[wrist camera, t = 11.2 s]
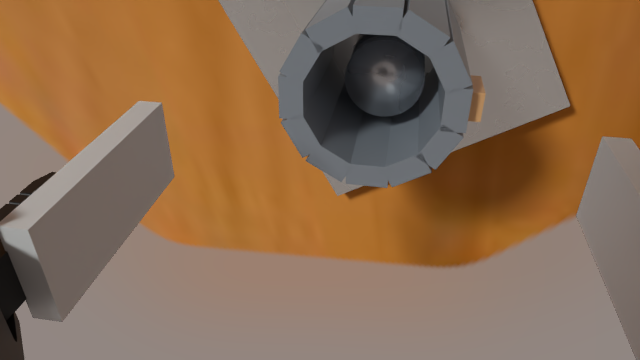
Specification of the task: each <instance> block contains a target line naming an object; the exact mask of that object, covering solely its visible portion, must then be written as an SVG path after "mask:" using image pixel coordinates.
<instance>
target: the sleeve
mask: <svg viewBox="0 0 640 360" xmlns="http://www.w3.org/2000/svg"><path fill="white" fill-rule="evenodd" d="M354 34H373V35H390V36H398V37H399V38H401V39H402V40H404V41H405V42H407V43H408V44H410V45H411V46H413V47H414V48H416V49H417V50H419V51H420V52H422V53H423V54H425V55H426V56H428V57H429V58H430V60H431V62H432V64H433V66H434V67H433V68H432V69H431V71H430V72H429V73H428V75H427V76H426V77H425V83H424V88H423V91H422V93H421V95H420V97H419V99H418V100H417V102H416V103H415V104H414V105H413V106H412V107H411V108H409V109H408V110H406V111H405V112H403V113H400V114H398V115H394V116H387V117H385V116H376V115H372V114H369V113H367V112H365V111H363V110H362V109H360V108H359V107H358V106H357V105H356V104H355V103H354V102H353V101H352V99H351V98H350V96H349V94H348V92H347V89H346V84H345V79H344V77H343V75H342V73H341V71H340V69H339V67H338V66H337V64H336V62H335V60H334V58H333V45H335V44H337V43H339V42H341V41H343V40H345V39H347V38H349V37H350V36H352V35H354ZM279 72H281V73H280V74H279V76H278V90H279V118H283V120H282V121H281V124H282V125H283V127H284V129H285V130H286V132H287V133H288V135H289V137H290V138H291V140H292V142H293V143H294V145H295V146H296V148H297V150H298V151H299V153H300V154H301V156H302V158H303V157H305V156H307V155H308V157H307V159H306V161H307V162H308V163H310V164H312V165H313V166H315V167H317V168H318V169H320V170H322V171H323V172H325V173H327V174H328V175H330V176H332V177H333V178H335V179H337V180H338V181H340V182H342V181H343V179H344V178H345V177H346V184H353V185H363V186H374V187H384V188H387V186H388V181H389V183H390V184H391V186H392V187H394V186H397V185H399V184H402V183H405V182H407V181H410V180H413V179H415V178H418V177H421V176H424V175H426V174H429V173H432V168H434V169H435V170H436V169H437V168H438V166H439V165H440V164H441V163H442V162H443V161H444V160H445V158H446V157H447V156H448V155H449V154H450V153H451V152H452V150H453V149H454V148H455V147H456V146H457V145H458V144H459V142H460V141H461V140H462V139H463V138H464V136H463V133H466V130H467V124H468V121H472V122H481V116H482V111H483V106H484V100H485V95H486V93H485V89H484V85H483V82H482V78H481V76H474V75H470V70H469V66H468V61H467V57H466V52H465V48H464V44H463V39H462V35H461V30H460V27H459V25H458V22H457V20H456V18H455V15H454V13H453V11H452V8H451V6H450V4H449V1H448V0H326V1H325V2H324V3H323V5H322V6H321V7H320V9H319V10H318V11H317V13H316V14H315V15H314V17H313V18H312V19H311V21H310V22H309V23H308V25H307V26H306V27H305V29H304V30H303V31H302V33H301V34H300V36H299V38H298V40H297V41H296V43H295V45H294V47H293V48H292V50H291V52H290V54H289V55H288V57H287V59H286V61H285V62H284V64H283V66H282V68H281V69H280V71H279Z"/></svg>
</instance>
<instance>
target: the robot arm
mask: <svg viewBox="0 0 640 360" xmlns="http://www.w3.org/2000/svg"><path fill="white" fill-rule="evenodd" d="M173 178H174V171H173V166H172V160H171V154H170V148H169V142H168V137H167V131H166V125H165V119H164V113H163V107H162V103H159V102H146V101H138V102H137V103H136V104H135V105H134V106H133V107H131V108H130V109H129V110H128V111H127V112H126V113H125V114H123V115H122V116H121V117H120V118H119V119H118V120H117V121H115V122H114V123H113V124H112V125H111V126H110V127H108V128H107V129H106V130H105V131H104V132H103V133H102V134H100V135H99V136H98V137H97V138H96V139H95V140H94V141H92V142H91V143H90V144H89V145H88V146H87V147H85V148H84V149H83V150H82V151H81V152H80V153H79V154H77V155H76V156H75V157H74V158H73V159H72V160H70V161H69V162H68V163H67V164H66V165H65V166H64V167H63V168H61V169H60V170H59V171H58V172H51V173H49V174H47V175H45V176H43V177H41V178H39V179H37V180H35V181H33V182H32V183H31V184H30V185H28V186H27V187H26V188H25V189H24V190H22V191H21V192H20V195H16V196H15V197H14V198H13V199H12V200H10V201H9V204H6V205H5V206H3V207H2V208H1V209H0V360H24V353H23V346H22V338H21V331H20V324H19V320H18V318H17V316H16V313H15V311H16V310H17V309H18V308H19V307H20V306H21V304H22V303H23V302H24V301H25V300H26V302H27V304H28V307H29V309H30V312H31V314H32V317H33V318H38V319H45V320H52V321H59V322H63V320H64V319H65V318H66V316H67V315H68V314H69V313H70V311H71V310H72V309H73V307H74V306H75V305H76V303H77V302H78V301H79V300H80V298H81V297H82V296H83V294H84V293H85V292H86V290H87V289H88V288H89V287H90V285H91V284H92V283H93V281H94V280H95V279H96V278H97V276H98V275H99V274H100V272H101V271H102V270H103V268H104V267H105V266H106V265H107V263H108V262H109V261H110V259H111V258H112V257H113V256H114V254H115V253H116V252H117V250H118V249H119V248H120V247H121V245H122V244H123V242H124V241H125V240H126V239H127V237H128V236H129V235H130V234H131V232H132V231H133V230H134V228H135V227H136V226H137V224H138V223H139V222H140V221H141V219H142V218H143V217H144V215H145V214H146V213H147V212H148V210H149V209H150V208H151V206H152V205H153V204H154V202H155V201H156V200H157V199H158V197H159V196H160V195H161V193H162V192H163V191H164V190H165V188H166V187H167V186H168V184H169V183H170V182H171V180H172V179H173ZM576 217H577V219H578V222H579V224H580V226H581V229H582V231H583V234H584V236H585V238H586V241H587V243H588V246H589V248H590V250H591V253H592V255H593V257H594V260H595V262H596V265H597V267H598V269H599V272H600V274H601V277H602V279H603V281H604V284H605V286H606V288H607V290H608V293H609V296H610V298H611V300H612V303H613V305H614V308H615V310H616V312H617V315H618V317H619V319H620V322H621V324H622V327H623V329H624V331H625V334H626V336H627V339H628V341H629V343H630V346H631V348H632V351H633V353H634V355H635V358H636V360H640V150H639V148H638V147H637V146H636V144H635V143H634V141H633V140H632V139H629V138H615V137H602V139H601V142H600V145H599V148H598V151H597V154H596V157H595V160H594V163H593V166H592V169H591V172H590V175H589V178H588V181H587V184H586V187H585V190H584V193H583V196H582V200H581V203H580V206H579V209H578V212H577V215H576Z"/></svg>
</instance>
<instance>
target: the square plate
mask: <svg viewBox="0 0 640 360" xmlns="http://www.w3.org/2000/svg"><path fill="white" fill-rule="evenodd" d="M325 1H326V0H219V2H220V4H221V5H222V7H223V9H224V10H225V12H226V14H227V15H228V17H229V19H230V20H231V22H232V23H233V25H234V27H235V28H236V30H237V32H238V33H239V35H240V37H241V38H242V40H243V42H244V43H245V45H246V46H247V48H248V50H249V51H250V53H251V55H252V56H253V58H254V60H255V61H256V63H257V64H258V66H259V68H260V69H261V71H262V73H263V74H264V76H265V78H266V79H267V81H268V83H269V84H270V86H271V87H272V89H273V91H274V92H275V94H276V96H277V97H278V99H279V90H278V76H279V74H280V73H281V72H279V71H280V69H281V68H282V66H283V64H284V62H285V61H286V59H287V57H288V55H289V54H290V52H291V50H292V48H293V47H294V45H295V43H296V41H297V40H298V38H299V36H300V34H301V33H302V31H303V30H304V29H305V27H306V26H307V25H308V23H309V22H310V21H311V19H312V18H313V17H314V15H315V14H316V13H317V11H318V10H319V9H320V7H321V6H322V5H323V3H324V2H325ZM448 1H449V4H450V6H451V8H452V11H453V13H454V15H455V18H456V20H457V22H458V25H459V27H460V30H461V35H462V39H463V44H464V48H465V52H466V57H467V61H468V66H469V70H470V75H474V76H481V78H482V82H483V85H484V89H485V93H486V95H485V100H484V106H483V111H482V116H481V122H472V121H468V124H467V130H466V133H463V136H464V138H463V139H462V140H461V141H460V142H459V144H458V145H457V146H456V147H455V148H454V149H453V150H452V152H453V151H455V150H458V149H461V148H463V147H466V146H468V145H471V144H474V143H476V142H479V141H481V140H484V139H487V138H489V137H492V136H494V135H497V134H500V133H502V132H505V131H507V130H510V129H512V128H515V127H518V126H520V125H523V124H525V123H528V122H531V121H533V120H536V119H538V118H541V117H544V116H546V115H549V114H551V113H554V112H557V111H559V110H562V109H564V108H567V107H570V103H569V100H568V98H567V95H566V92H565V89H564V87H563V84H562V81H561V78H560V76H559V73H558V70H557V67H556V64H555V62H554V59H553V56H552V53H551V51H550V48H549V45H548V42H547V40H546V37H545V34H544V31H543V28H542V26H541V23H540V20H539V17H538V15H537V12H536V9H535V6H534V3H533V1H532V0H448ZM333 58H334V60H335V62H336V64H337V66H338V67H339V69H340V71H341V73H342V75H343V77H344V79H345V84H346V89H347V92H348V94H349V96H350V98H351V99H352V101H353V102H354V103H355V104H356V105H357V106H358V107H359V108H360V109H362V110H363V111H365V112H367V113H369V114H372V115H376V116H385V117H387V116H394V115H398V114H400V113H403V112H405V111H406V110H408V109H409V108H411V107H412V106H413V105H414V104H415V103H416V102H417V100H418V99H419V97H420V95H421V93H422V91H423V88H424V83H425V77H426V76H427V75H428V73H429V72H430V71H431V69H432V68H433V67H434V66H433V64H432V62H431V60H430V58H429V57H428V56H426V55H425V54H423V53H422V52H420V51H419V50H417V49H416V48H414V47H413V46H411V45H410V44H408V43H407V42H405V41H404V40H402V39H401V38H399V37H398V36H390V35H373V34H354V35H352V36H350V37H349V38H347V39H345V40H343V41H341V42H339V43H337V44H335V45H333ZM323 173H324V175H325V176H326V178H327V179H328V181H329V183H330V184H331V186H332V188H333V189H334V191H335V193H336V194H337V196H338V195H341V194H344V193H346V192H349V191H351V190H354V189H357V188H359V187H362V186H363V185H353V184H346V177H345V178H344V179H343V181H342V182H340V181H338V180H337V179H335V178H333V177H332V176H330V175H328V174H327V173H325V172H323Z"/></svg>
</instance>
